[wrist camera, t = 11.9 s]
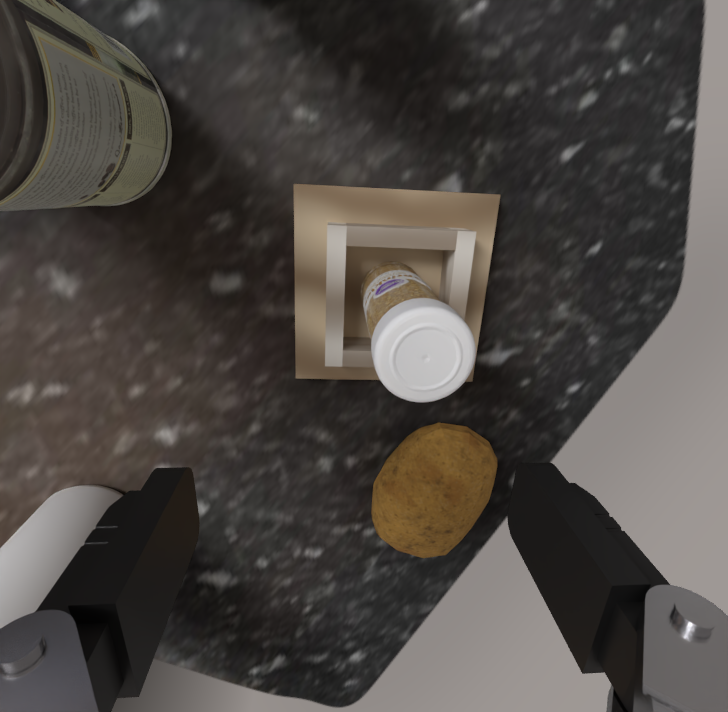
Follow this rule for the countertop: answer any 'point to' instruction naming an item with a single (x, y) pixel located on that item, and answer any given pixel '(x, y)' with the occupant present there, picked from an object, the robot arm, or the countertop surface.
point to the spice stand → (375, 246)
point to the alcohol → (48, 546)
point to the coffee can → (74, 113)
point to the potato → (433, 489)
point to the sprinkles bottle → (414, 335)
